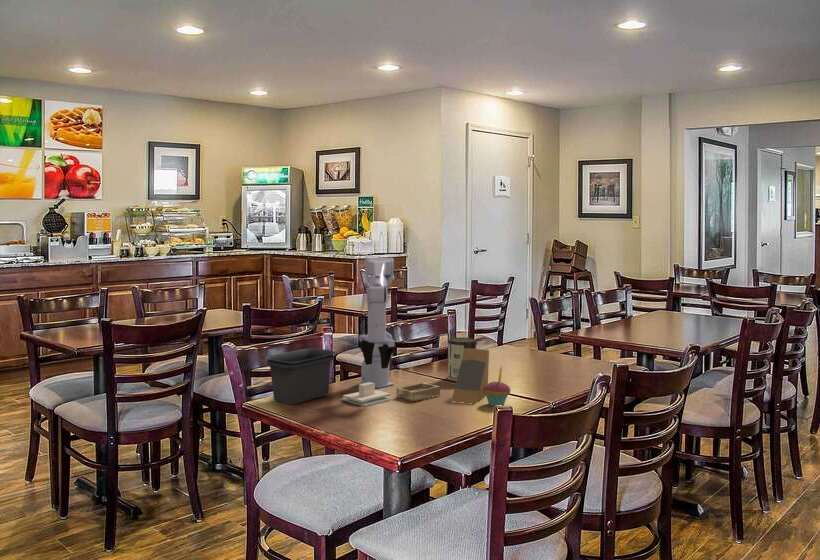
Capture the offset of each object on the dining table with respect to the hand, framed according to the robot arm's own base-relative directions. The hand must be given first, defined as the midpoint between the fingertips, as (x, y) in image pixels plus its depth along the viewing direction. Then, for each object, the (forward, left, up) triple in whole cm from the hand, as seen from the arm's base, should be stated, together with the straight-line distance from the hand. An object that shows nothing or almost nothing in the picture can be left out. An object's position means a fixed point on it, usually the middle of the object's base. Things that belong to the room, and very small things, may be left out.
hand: (376, 366), depth 237 cm
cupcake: (+32, +21, -11) cm, 40 cm away
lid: (0, -4, -9) cm, 10 cm away
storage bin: (-17, -18, -11) cm, 27 cm away
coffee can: (0, +42, -11) cm, 43 cm away
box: (+8, +11, -10) cm, 17 cm away
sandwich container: (+21, +21, -11) cm, 32 cm away
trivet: (0, -4, -10) cm, 11 cm away
